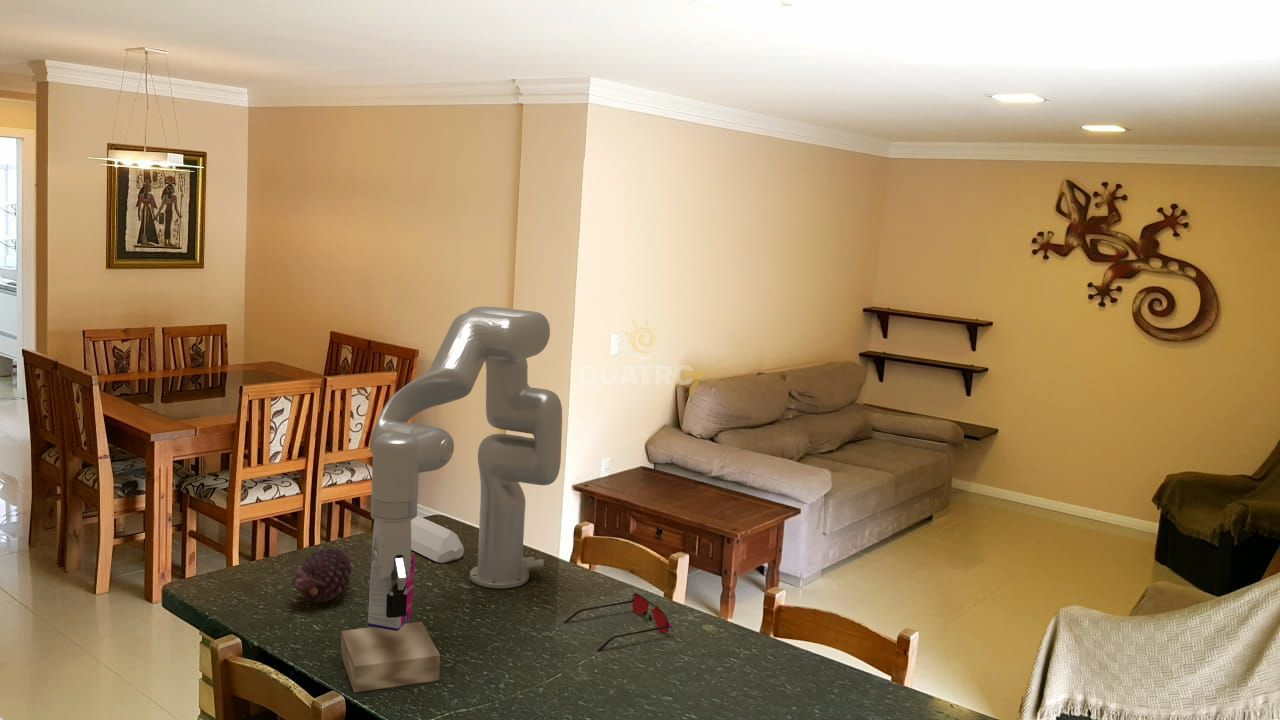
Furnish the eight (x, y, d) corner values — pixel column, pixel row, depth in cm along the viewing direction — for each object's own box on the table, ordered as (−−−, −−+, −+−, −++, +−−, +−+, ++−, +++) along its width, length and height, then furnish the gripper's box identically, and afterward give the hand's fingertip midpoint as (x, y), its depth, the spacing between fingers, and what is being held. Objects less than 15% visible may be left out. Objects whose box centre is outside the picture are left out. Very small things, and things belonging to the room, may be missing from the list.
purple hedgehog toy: (325, 578, 207) (326, 532, 206) (369, 585, 206) (371, 539, 204) (279, 611, 190) (280, 561, 189) (327, 618, 189) (328, 568, 187)
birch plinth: (420, 645, 180) (421, 621, 180) (439, 680, 168) (440, 655, 167) (340, 655, 174) (341, 630, 174) (354, 692, 162) (354, 666, 161)
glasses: (672, 639, 191) (674, 614, 190) (597, 654, 183) (599, 628, 182) (635, 611, 203) (636, 588, 202) (562, 624, 194) (564, 600, 193)
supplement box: (399, 632, 166) (401, 566, 165) (366, 626, 168) (368, 561, 166) (413, 618, 172) (416, 555, 170) (382, 613, 173) (384, 550, 171)
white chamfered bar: (476, 542, 225) (415, 514, 241) (454, 532, 220) (393, 504, 236) (461, 572, 223) (401, 542, 239) (439, 563, 218) (378, 533, 234)
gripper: (362, 493, 173) (359, 589, 176) (381, 525, 157) (378, 630, 160) (405, 491, 176) (402, 585, 179) (428, 521, 161) (424, 624, 163)
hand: (391, 605), depth 169 cm, fingers closed on supplement box, 7 cm apart
